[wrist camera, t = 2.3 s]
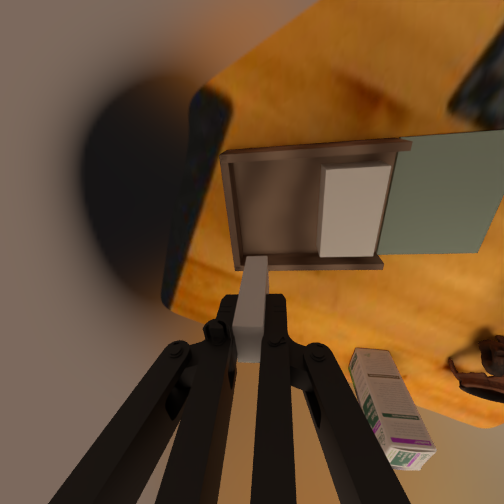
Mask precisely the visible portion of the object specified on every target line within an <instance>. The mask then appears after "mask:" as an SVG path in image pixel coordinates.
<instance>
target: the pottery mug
mask: <svg viewBox="0 0 504 504" xmlns="http://www.w3.org/2000/svg"><path fill="white" fill-rule="evenodd" d="M496 339H497V340H498V342H496V341H493V340H489V339H487V340H483V341H480V342H478V344H479V348H480V351H481V359H482V365H483V367H484V368H485V370H486V371H487V372H488V373H489V374H491V375H494V376H489V377H487V375H486V374H485V373H474V372H470V373H463V372H462V373H458V371H457V370H456V368H455V366H454V363H453V360H451V359H449V366H450V368H451V371H452V373H453V374H454V376H455V377H456V378H457V379H458V380H459V383H460V386H459V387H460V389H462V390H463V391H465V392H467V393H469V394H472V395H474V396H477V397H480V398H483V399H487V400H491V401H495V402H500V403H504V337H502V336H496Z"/></svg>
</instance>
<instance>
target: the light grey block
mask: <svg viewBox="0 0 504 504" xmlns="http://www.w3.org/2000/svg"><path fill="white" fill-rule="evenodd" d="M390 170H391V166H390V165H388V164H386V163H384V162H382V161H367V162H351V163H335V164H321V179H320V195H319V211H318V226H317V242H316V246H317V249H318V253H319V256H320V257H364V256H373V254H374V249H375V244H376V239H377V234H378V229H379V225H380V220H381V215H382V210H383V205H384V200H385V195H386V190H387V185H388V180H389V175H390Z"/></svg>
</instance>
